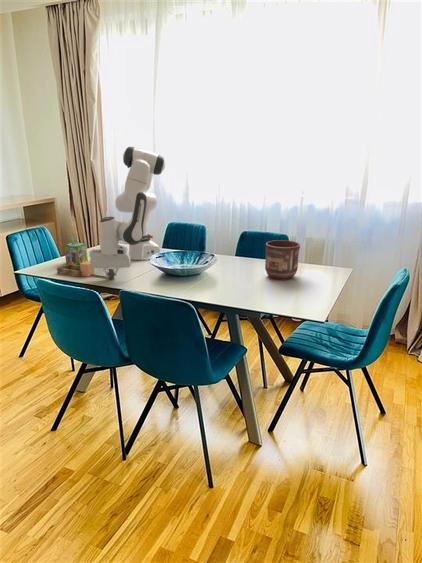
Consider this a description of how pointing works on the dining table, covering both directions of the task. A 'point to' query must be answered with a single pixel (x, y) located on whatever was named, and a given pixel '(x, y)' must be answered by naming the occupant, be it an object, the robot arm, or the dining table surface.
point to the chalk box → (75, 253)
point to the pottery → (281, 259)
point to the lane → (70, 270)
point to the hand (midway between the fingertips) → (111, 275)
